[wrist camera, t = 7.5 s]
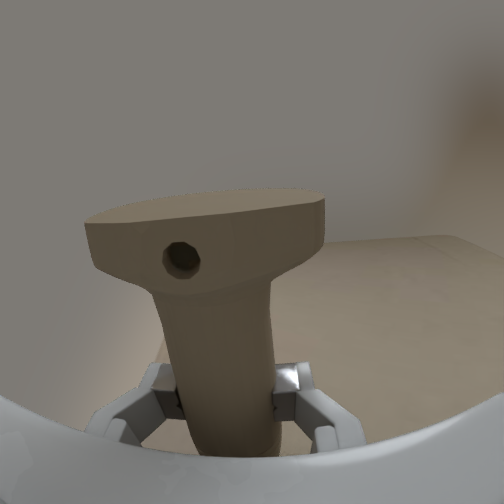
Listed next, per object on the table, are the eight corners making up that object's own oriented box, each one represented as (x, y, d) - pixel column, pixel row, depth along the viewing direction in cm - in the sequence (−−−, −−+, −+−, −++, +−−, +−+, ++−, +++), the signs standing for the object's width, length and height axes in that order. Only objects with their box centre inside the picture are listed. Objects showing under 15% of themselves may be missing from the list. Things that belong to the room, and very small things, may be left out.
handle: (305, 504, 9) (351, 207, 5) (187, 502, 10) (50, 233, 5) (298, 441, 14) (305, 185, 9) (198, 442, 14) (132, 201, 10)
